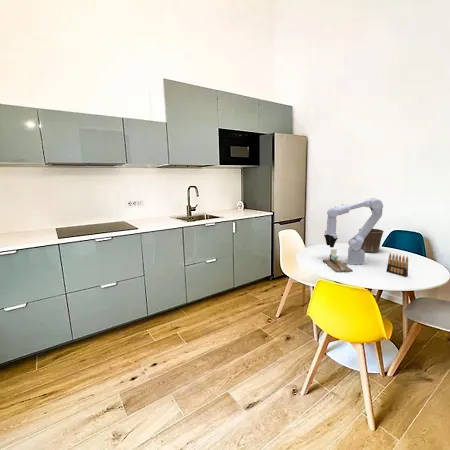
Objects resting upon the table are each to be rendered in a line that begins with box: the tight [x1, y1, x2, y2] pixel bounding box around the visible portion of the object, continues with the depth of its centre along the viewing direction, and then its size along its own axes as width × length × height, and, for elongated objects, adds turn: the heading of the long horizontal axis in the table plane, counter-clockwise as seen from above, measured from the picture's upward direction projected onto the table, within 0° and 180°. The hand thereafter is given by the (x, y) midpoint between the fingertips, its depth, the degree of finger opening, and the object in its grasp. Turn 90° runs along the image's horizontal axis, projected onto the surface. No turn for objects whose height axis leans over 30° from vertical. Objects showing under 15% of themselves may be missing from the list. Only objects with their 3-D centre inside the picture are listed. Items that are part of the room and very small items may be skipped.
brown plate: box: [322, 253, 354, 273], centre depth 166 cm, size 10×20×6 cm, turn 2°
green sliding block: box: [330, 248, 339, 261], centre depth 169 cm, size 4×4×6 cm
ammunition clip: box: [385, 252, 409, 278], centre depth 150 cm, size 11×2×12 cm, turn 33°
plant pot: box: [358, 228, 384, 254], centre depth 195 cm, size 16×16×16 cm
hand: (330, 246), depth 175 cm, fingers open, 5 cm apart
